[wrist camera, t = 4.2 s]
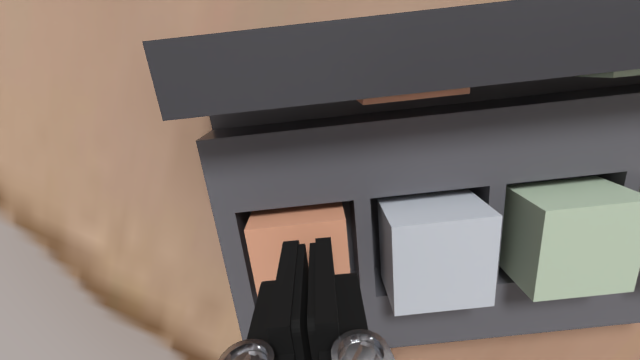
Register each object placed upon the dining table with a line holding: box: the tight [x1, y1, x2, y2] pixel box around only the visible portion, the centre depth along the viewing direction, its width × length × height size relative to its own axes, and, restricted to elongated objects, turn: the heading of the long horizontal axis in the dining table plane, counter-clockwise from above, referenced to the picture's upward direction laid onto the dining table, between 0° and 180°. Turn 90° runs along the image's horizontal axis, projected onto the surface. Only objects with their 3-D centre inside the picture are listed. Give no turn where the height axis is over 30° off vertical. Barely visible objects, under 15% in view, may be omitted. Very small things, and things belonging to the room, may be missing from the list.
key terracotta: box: [244, 202, 350, 296], centre depth 13 cm, size 4×4×2 cm
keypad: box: [143, 0, 640, 348], centre depth 13 cm, size 21×13×6 cm, turn 96°
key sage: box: [499, 176, 640, 302], centre depth 12 cm, size 4×4×2 cm
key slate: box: [377, 189, 502, 316], centre depth 12 cm, size 4×4×2 cm
